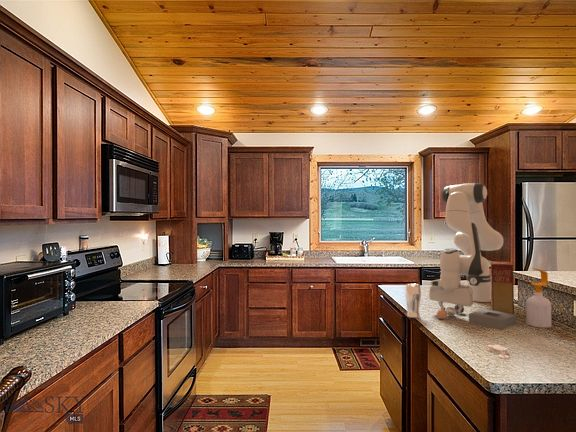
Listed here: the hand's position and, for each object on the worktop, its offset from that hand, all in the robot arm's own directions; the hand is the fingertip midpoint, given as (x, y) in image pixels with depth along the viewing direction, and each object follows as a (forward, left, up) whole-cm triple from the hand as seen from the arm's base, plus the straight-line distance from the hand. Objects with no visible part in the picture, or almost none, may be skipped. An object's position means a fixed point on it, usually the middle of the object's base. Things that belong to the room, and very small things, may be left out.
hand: (450, 312), depth 181 cm
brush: (+34, +35, -2) cm, 49 cm away
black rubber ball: (-8, 0, -2) cm, 8 cm away
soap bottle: (-14, +32, -2) cm, 35 cm away
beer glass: (+14, -11, -2) cm, 18 cm away
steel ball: (0, 0, -2) cm, 2 cm away
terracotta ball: (+8, 0, -2) cm, 8 cm away
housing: (-2, +18, -2) cm, 18 cm away
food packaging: (-20, +15, -2) cm, 25 cm away
